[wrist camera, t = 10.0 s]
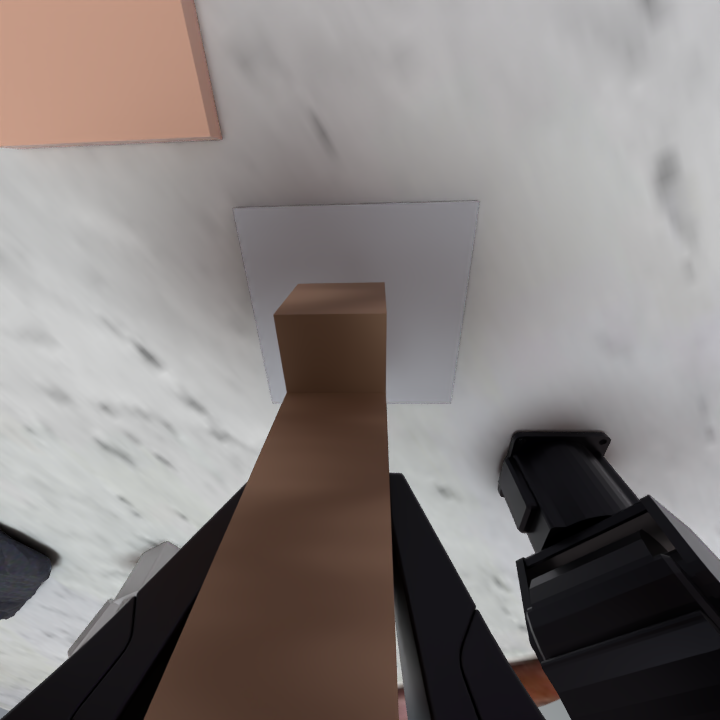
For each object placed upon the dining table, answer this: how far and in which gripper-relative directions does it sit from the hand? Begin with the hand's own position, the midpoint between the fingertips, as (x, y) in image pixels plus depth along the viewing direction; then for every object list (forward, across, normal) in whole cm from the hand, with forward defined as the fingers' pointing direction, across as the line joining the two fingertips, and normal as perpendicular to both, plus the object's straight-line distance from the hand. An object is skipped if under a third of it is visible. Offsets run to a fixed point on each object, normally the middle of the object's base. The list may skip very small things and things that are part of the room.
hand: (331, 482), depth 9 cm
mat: (+12, 0, 0) cm, 12 cm away
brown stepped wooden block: (+5, 0, 0) cm, 5 cm away
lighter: (+12, +22, +26) cm, 36 cm away
